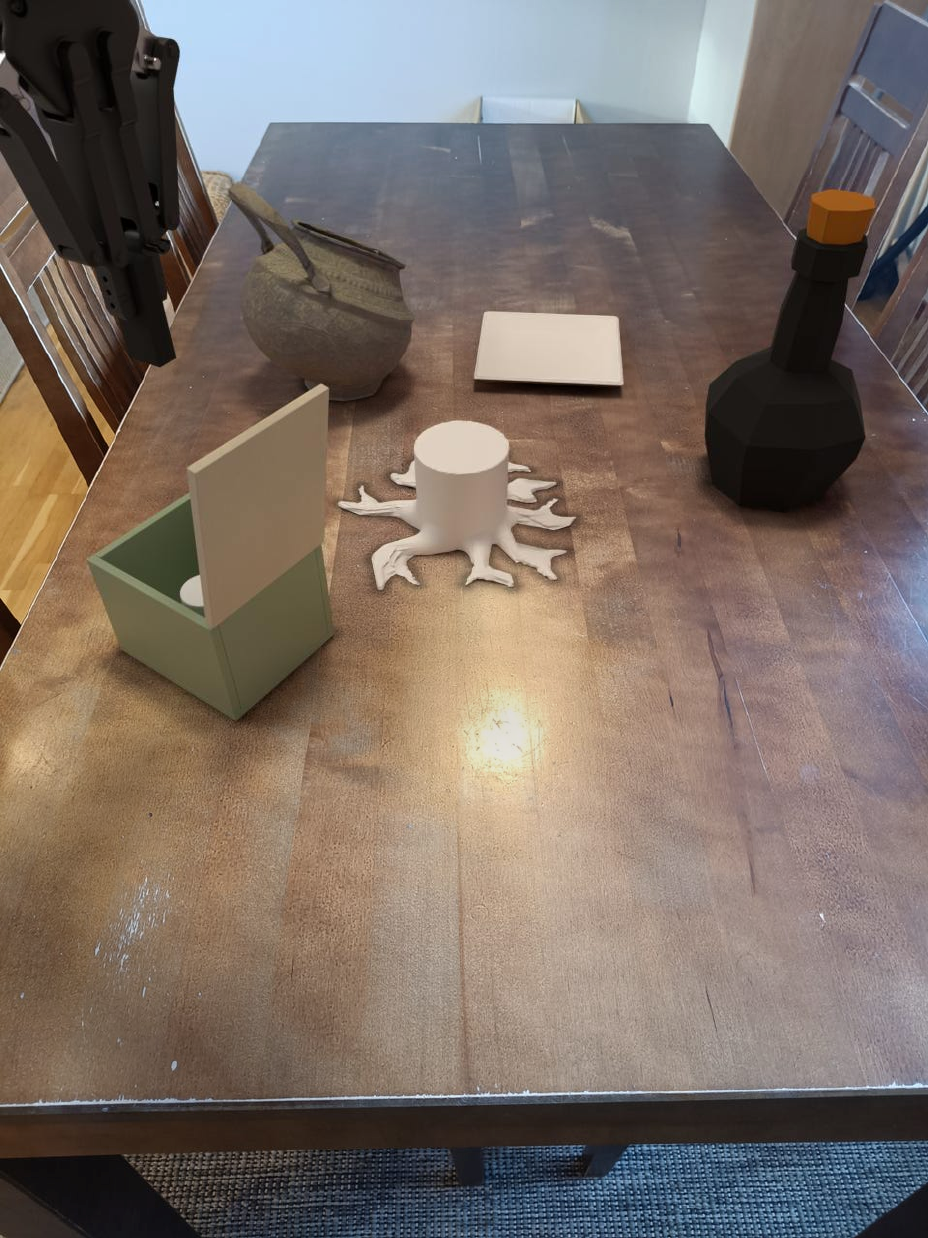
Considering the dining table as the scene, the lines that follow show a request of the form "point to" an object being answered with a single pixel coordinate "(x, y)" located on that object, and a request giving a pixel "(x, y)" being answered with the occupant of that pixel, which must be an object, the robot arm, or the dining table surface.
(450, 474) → the white tree stump
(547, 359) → the plate
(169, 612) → the box
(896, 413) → the dining table surface
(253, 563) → the lid
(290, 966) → the dining table surface
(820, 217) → the bottle
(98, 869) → the dining table surface
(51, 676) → the dining table surface
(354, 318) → the pot
